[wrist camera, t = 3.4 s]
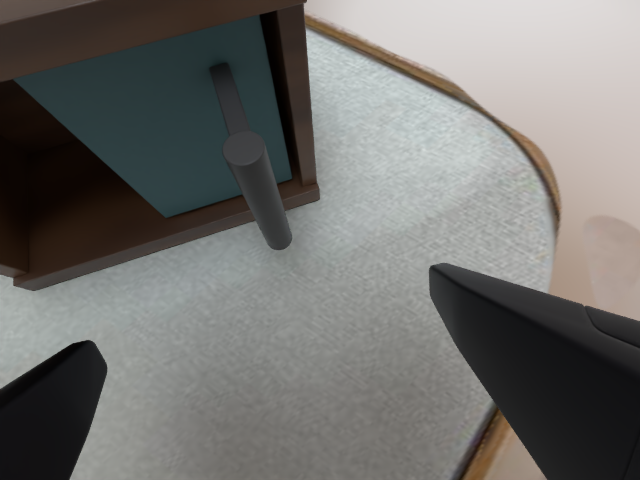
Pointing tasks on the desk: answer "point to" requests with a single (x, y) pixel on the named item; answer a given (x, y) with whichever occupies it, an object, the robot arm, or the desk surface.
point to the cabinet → (87, 168)
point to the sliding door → (182, 120)
